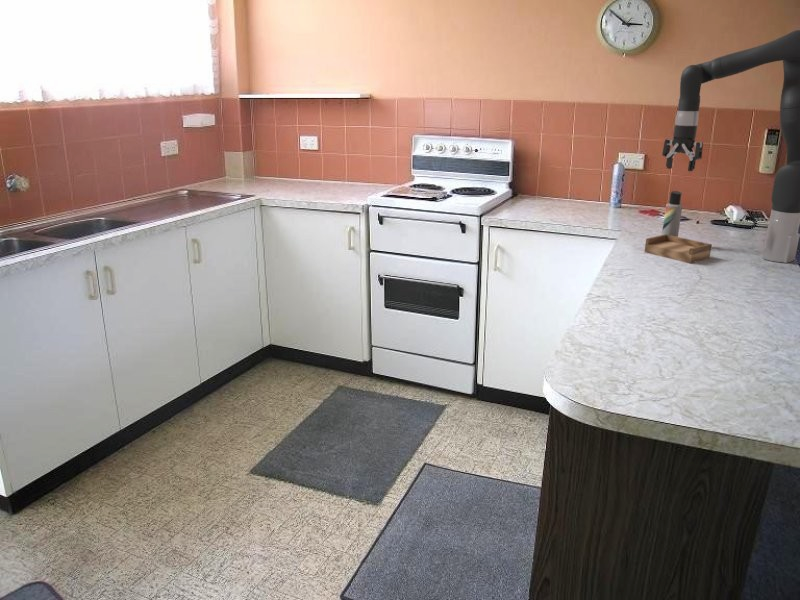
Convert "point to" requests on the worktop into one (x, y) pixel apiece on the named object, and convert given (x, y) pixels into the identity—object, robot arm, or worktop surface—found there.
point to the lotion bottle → (672, 214)
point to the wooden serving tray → (678, 248)
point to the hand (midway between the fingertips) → (679, 169)
